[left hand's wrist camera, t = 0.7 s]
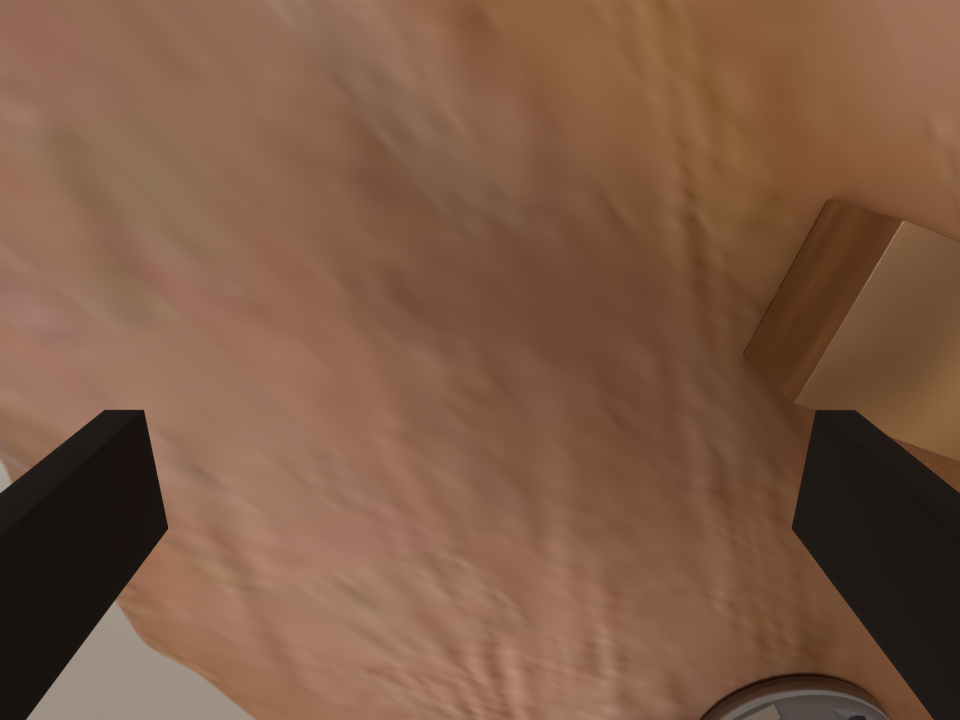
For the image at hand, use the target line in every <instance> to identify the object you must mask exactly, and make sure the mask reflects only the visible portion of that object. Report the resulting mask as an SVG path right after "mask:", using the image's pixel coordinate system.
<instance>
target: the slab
mask: <svg viewBox="0 0 960 720" xmlns="http://www.w3.org/2000/svg"><path fill="white" fill-rule="evenodd" d="M743 355H744V356H745V357H746V358H747V359H748V360H749V361H750V362H751V363H752V364H753V365H754V366H755V367H756V368H757V369H758V370H759V371H760V372H761V373H762V374H764V375H765V376H766V377H767V378H768V379H769V380H770V381H771V382H772V383H773V384H774V385H775V386H776V387H777V388H778V389H779V390H780V391H781V392H783V393H784V394H785V395H786V396H787V397H788V398H789V399H790V400H791V401H792V402H793V403H794V404H796V405H799V406H802V407H805V408H808V409H811V410H813V411H816V410H856V411H857V412H859V413H860V414H861V415H862V416H864V417H865V418H866V419H867V420H869V421H870V422H871V423H872V424H874V425H875V426H876V427H877V428H879V429H880V430H881V431H882V432H884V433H885V434H886V435H887V436H889V437H891V438H894V439H897V440H899V441H902V442H905V443H908V444H911V445H914V446H917V447H920V448H922V449H925V450H928V451H931V452H934V453H937V454H940V455H942V456H945V457H948V458H951V459H954V460H957V461H960V242H958V241H955V240H953V239H950V238H948V237H945V236H943V235H940V234H938V233H935V232H933V231H930V230H928V229H925V228H923V227H920V226H918V225H915V224H913V223H910V222H908V221H905V220H902V219H899V218H895V217H891V216H888V215H884V214H880V213H876V212H873V211H869V210H865V209H862V208H858V207H854V206H851V205H847V204H843V203H840V202H836V201H832V200H828V201H827V202H826V204H825V206H824V208H823V210H822V212H821V213H820V215H819V217H818V219H817V221H816V223H815V224H814V226H813V228H812V230H811V232H810V234H809V235H808V237H807V239H806V241H805V243H804V245H803V246H802V248H801V250H800V252H799V254H798V256H797V257H796V259H795V261H794V263H793V265H792V266H791V268H790V270H789V272H788V274H787V276H786V277H785V279H784V281H783V283H782V285H781V287H780V288H779V290H778V292H777V294H776V296H775V298H774V299H773V301H772V303H771V305H770V307H769V309H768V310H767V312H766V314H765V316H764V318H763V320H762V321H761V323H760V325H759V327H758V329H757V331H756V332H755V334H754V336H753V338H752V340H751V342H750V343H749V345H748V347H747V349H746V351H745V353H744V354H743Z"/></svg>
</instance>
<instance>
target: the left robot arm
mask: <svg viewBox="0 0 960 720" xmlns="http://www.w3.org/2000/svg"><path fill="white" fill-rule="evenodd" d="M167 530H168V524H167V520H166V515H165V510H164V505H163V500H162V495H161V490H160V486H159V481H158V476H157V471H156V466H155V461H154V457H153V452H152V447H151V442H150V437H149V432H148V427H147V423H146V418H145V413H144V410H104V411H103V412H101V413H100V414H99V415H98V416H96V417H95V418H94V419H93V420H91V421H90V422H89V423H88V424H86V425H85V426H84V427H83V428H81V429H80V430H79V431H78V432H76V433H75V434H74V435H73V436H71V437H70V438H69V439H68V440H66V441H65V442H64V443H63V444H61V445H60V446H59V447H58V448H56V449H55V450H54V451H53V452H51V453H50V454H49V455H48V456H46V457H45V458H44V459H43V460H41V461H40V462H39V463H38V464H36V465H35V466H34V467H33V468H31V469H30V470H29V471H28V472H26V473H25V474H24V475H23V476H21V477H20V478H19V479H18V480H16V481H15V482H14V483H13V484H11V485H10V486H9V487H8V488H6V489H5V490H4V491H3V492H1V493H0V720H26V719H27V717H28V716H29V715H30V714H31V712H32V711H33V709H34V708H35V707H36V705H37V704H38V703H39V701H40V700H41V699H42V697H43V696H44V695H45V693H46V692H47V691H48V689H49V688H50V687H51V685H52V684H53V683H54V681H55V680H56V679H57V677H58V676H59V675H60V673H61V672H62V671H63V669H64V668H65V667H66V665H67V664H68V662H69V661H70V660H71V658H72V657H73V656H74V654H75V653H76V652H77V650H78V649H79V648H80V646H81V645H82V644H83V642H84V641H85V640H86V638H87V637H88V636H89V634H90V633H91V632H92V630H93V629H94V628H95V626H96V625H97V624H98V622H99V621H100V620H101V618H102V617H103V616H104V614H105V613H106V611H107V610H108V609H109V607H110V606H111V605H112V603H113V602H114V601H115V599H116V598H117V597H118V595H119V594H120V593H121V591H122V590H123V589H124V587H125V586H126V585H127V583H128V582H129V581H130V579H131V578H132V577H133V575H134V574H135V573H136V571H137V570H138V569H139V567H140V566H141V565H142V563H143V562H144V560H145V559H146V558H147V556H148V555H149V554H150V552H151V551H152V550H153V548H154V547H155V546H156V544H157V543H158V542H159V540H160V539H161V538H162V536H163V535H164V534H165V532H166V531H167ZM792 530H793V531H794V532H795V534H796V535H797V536H798V538H799V539H800V540H801V542H802V543H803V544H804V546H805V547H806V548H807V550H808V551H809V552H810V554H811V555H812V556H813V558H814V559H815V560H816V562H817V563H818V565H819V566H820V567H821V569H822V570H823V571H824V573H825V574H826V575H827V577H828V578H829V579H830V581H831V582H832V583H833V585H834V586H835V587H836V589H837V590H838V591H839V593H840V594H841V595H842V597H843V598H844V599H845V601H846V602H847V603H848V605H849V606H850V607H851V609H852V610H853V611H854V613H855V614H856V616H857V617H858V618H859V620H860V621H861V622H862V624H863V625H864V626H865V628H866V629H867V630H868V632H869V633H870V634H871V636H872V637H873V638H874V640H875V641H876V642H877V644H878V645H879V646H880V648H881V649H882V650H883V652H884V653H885V654H886V656H887V657H888V658H889V660H890V661H891V663H892V664H893V665H894V667H895V668H896V669H897V671H898V672H899V673H900V675H901V676H902V677H903V679H904V680H905V681H906V683H907V684H908V685H909V687H910V688H911V689H912V691H913V692H914V693H915V695H916V696H917V697H918V699H919V700H920V701H921V703H922V704H923V705H924V707H925V708H926V710H927V711H928V712H929V714H930V715H931V716H932V718H933V719H934V720H960V493H959V492H957V491H956V490H955V489H954V488H952V487H951V486H950V485H949V484H947V483H946V482H945V481H944V480H942V479H941V478H940V477H939V476H937V475H936V474H935V473H934V472H932V471H931V470H930V469H929V468H927V467H926V466H925V465H924V464H922V463H921V462H920V461H919V460H917V459H916V458H915V457H914V456H912V455H911V454H910V453H909V452H907V451H906V450H905V449H904V448H902V447H901V446H900V445H899V444H897V443H896V442H895V441H894V440H892V439H891V438H890V437H889V436H887V435H886V434H885V433H884V432H882V431H881V430H880V429H879V428H877V427H876V426H875V425H874V424H872V423H871V422H870V421H869V420H867V419H866V418H865V417H864V416H862V415H861V414H860V413H859V412H857V411H856V410H816V413H815V418H814V423H813V427H812V432H811V437H810V442H809V447H808V452H807V457H806V461H805V466H804V471H803V476H802V481H801V486H800V490H799V495H798V500H797V505H796V510H795V515H794V520H793V524H792ZM703 720H890V719H889V717H888V716H887V714H886V713H885V711H884V710H883V708H882V707H881V706H880V704H879V703H878V702H877V701H876V700H875V699H874V698H873V697H872V696H870V695H869V694H868V693H866V692H865V691H863V690H862V689H860V688H858V687H856V686H854V685H852V684H849V683H847V682H843V681H840V680H837V679H832V678H826V677H818V676H795V677H786V678H780V679H775V680H771V681H767V682H763V683H760V684H757V685H754V686H752V687H749V688H747V689H744V690H742V691H740V692H738V693H736V694H734V695H733V696H731V697H729V698H728V699H726V700H725V701H723V702H722V703H720V704H719V705H718V706H717V707H715V708H714V709H713V710H712V711H711V712H710V713H709V714H708V715H707V716H706V717H705V718H704V719H703Z"/></svg>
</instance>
